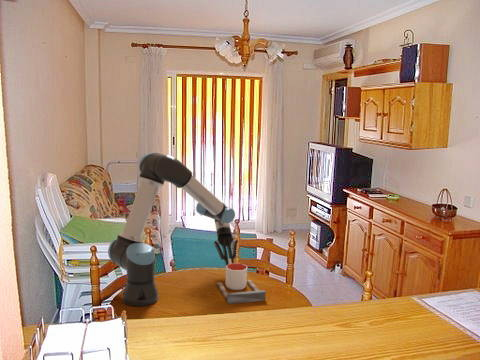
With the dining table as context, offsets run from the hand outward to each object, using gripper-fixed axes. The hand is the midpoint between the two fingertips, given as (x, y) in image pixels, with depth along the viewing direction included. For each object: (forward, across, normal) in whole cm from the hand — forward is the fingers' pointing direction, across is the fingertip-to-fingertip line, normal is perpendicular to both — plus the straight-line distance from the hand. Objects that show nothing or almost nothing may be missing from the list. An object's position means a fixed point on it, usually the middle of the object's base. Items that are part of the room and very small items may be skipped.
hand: (231, 271), depth 205 cm
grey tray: (+13, 0, -8) cm, 15 cm away
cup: (+9, 0, -3) cm, 10 cm away
